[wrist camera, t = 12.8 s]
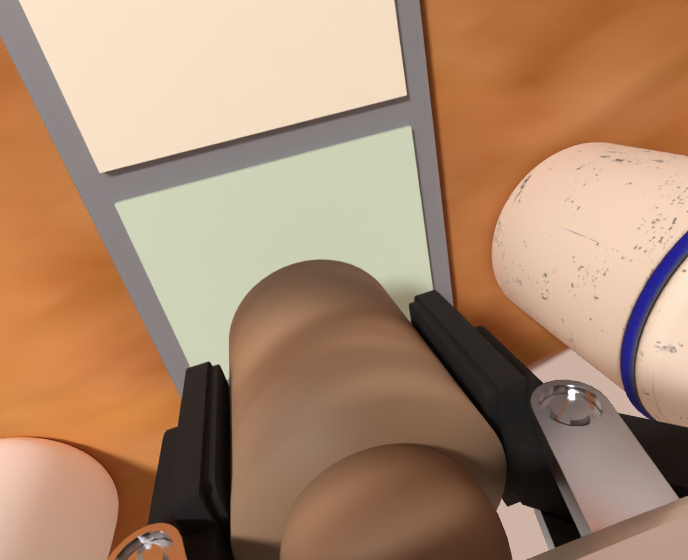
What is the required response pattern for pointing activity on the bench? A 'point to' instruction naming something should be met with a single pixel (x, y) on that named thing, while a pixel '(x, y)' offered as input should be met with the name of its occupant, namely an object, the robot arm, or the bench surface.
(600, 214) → the teacup with lid
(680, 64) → the bench surface
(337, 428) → the pawn
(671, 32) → the bench surface
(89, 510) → the cup
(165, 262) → the game board
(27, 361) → the bench surface
